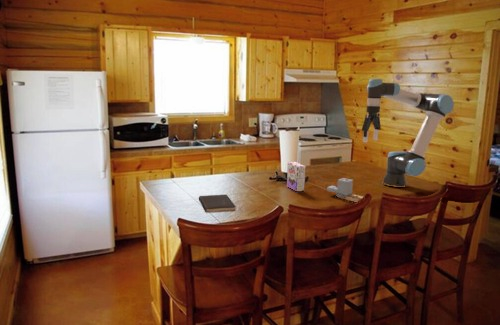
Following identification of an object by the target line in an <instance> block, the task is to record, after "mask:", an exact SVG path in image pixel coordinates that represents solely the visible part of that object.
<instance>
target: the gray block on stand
mask: <svg viewBox="0 0 500 325" xmlns="http://www.w3.org/2000/svg"><path fill="white" fill-rule="evenodd" d="M346 179H347V178H346ZM346 179H344V181H347V180H346ZM353 194H354V193H353V192H352V193H351V194H348V195H344V194H339V193H336V192H335V197H336V196H337V197H341V198H346V197H348V196H351V195H353Z"/></svg>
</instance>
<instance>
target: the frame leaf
mask: <svg viewBox="0 0 500 325" xmlns="http://www.w3.org/2000/svg"><path fill="white" fill-rule="evenodd" d="M363 197H364V196H362V195H359V194H354V193H353V194H352V195H351V196H348V197H346V199H347V200H351V201H354V202H358V201H359V200H360V199H362V198H363Z"/></svg>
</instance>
